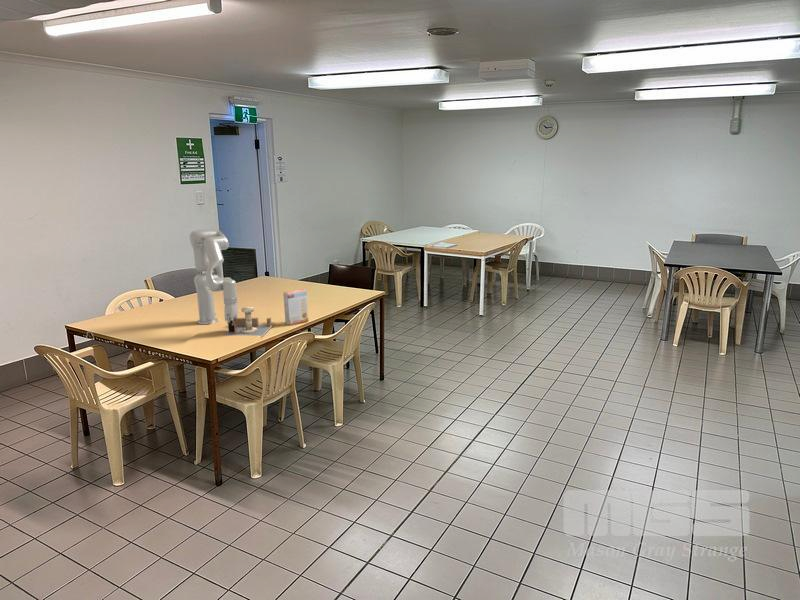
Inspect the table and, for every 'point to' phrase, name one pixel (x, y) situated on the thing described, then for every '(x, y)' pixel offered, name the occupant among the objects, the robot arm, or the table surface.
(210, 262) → the robot arm
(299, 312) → the cracker box
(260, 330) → the grey board with ledge
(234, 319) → the copper block
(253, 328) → the bobbin
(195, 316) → the table surface
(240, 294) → the table surface
